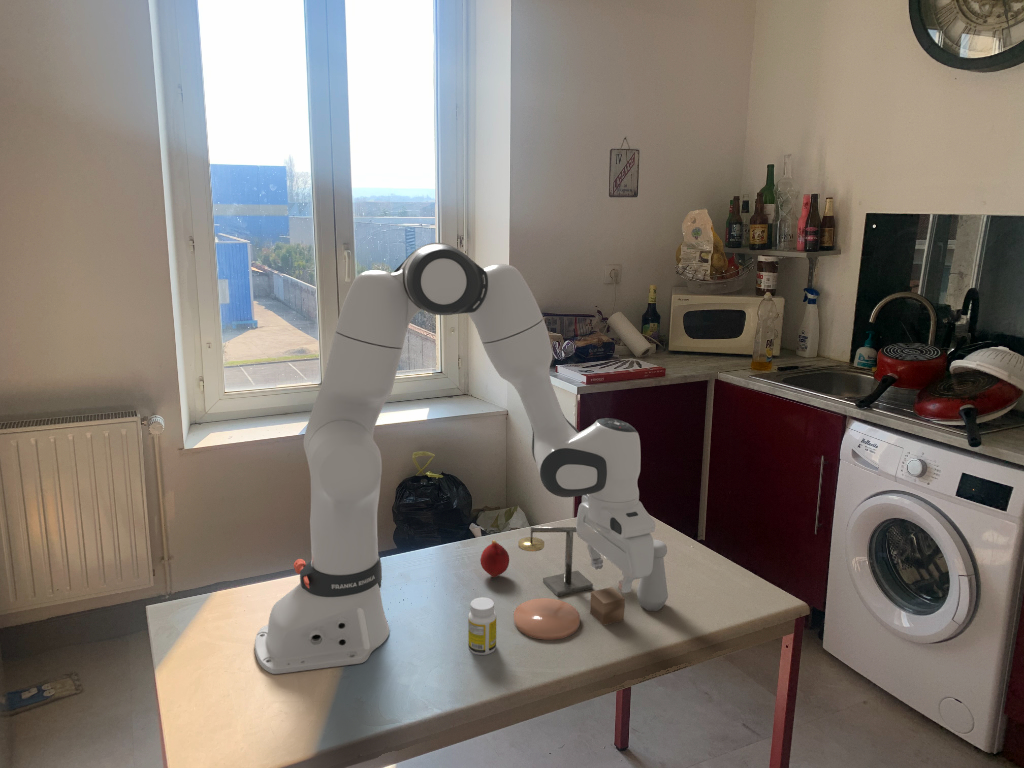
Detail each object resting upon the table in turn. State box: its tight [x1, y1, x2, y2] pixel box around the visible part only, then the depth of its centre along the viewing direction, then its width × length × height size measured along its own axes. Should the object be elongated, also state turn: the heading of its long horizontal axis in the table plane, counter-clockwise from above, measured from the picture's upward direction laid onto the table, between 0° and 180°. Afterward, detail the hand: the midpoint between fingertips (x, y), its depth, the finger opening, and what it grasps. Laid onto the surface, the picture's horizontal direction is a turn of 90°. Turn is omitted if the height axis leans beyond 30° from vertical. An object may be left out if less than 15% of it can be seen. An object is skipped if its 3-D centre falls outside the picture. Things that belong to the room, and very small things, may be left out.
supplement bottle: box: [467, 596, 497, 656], centre depth 125 cm, size 5×5×8 cm
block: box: [589, 586, 626, 626], centre depth 135 cm, size 4×4×4 cm
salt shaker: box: [636, 539, 669, 612], centre depth 139 cm, size 6×6×13 cm
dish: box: [513, 597, 581, 641], centre depth 134 cm, size 12×12×1 cm
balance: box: [517, 526, 594, 597], centre depth 145 cm, size 22×6×14 cm, turn 115°
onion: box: [479, 539, 510, 578], centre depth 149 cm, size 6×6×8 cm
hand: (610, 578), depth 134 cm, fingers open, 8 cm apart
